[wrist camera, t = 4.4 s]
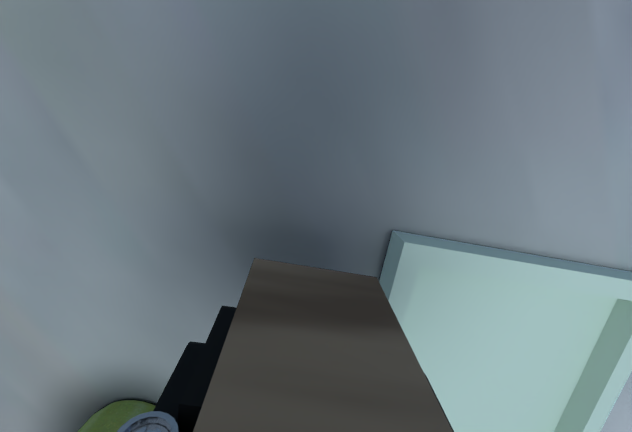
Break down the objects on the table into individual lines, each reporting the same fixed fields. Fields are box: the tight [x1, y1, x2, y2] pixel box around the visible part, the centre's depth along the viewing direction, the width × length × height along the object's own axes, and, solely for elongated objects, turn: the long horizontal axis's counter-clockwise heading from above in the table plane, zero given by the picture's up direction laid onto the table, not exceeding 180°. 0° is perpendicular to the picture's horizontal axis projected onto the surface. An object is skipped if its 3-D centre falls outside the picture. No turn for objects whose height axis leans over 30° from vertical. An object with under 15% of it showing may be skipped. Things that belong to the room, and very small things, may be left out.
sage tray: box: [379, 230, 632, 432], centre depth 20 cm, size 16×16×2 cm
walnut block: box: [193, 258, 453, 432], centre depth 9 cm, size 5×5×8 cm
